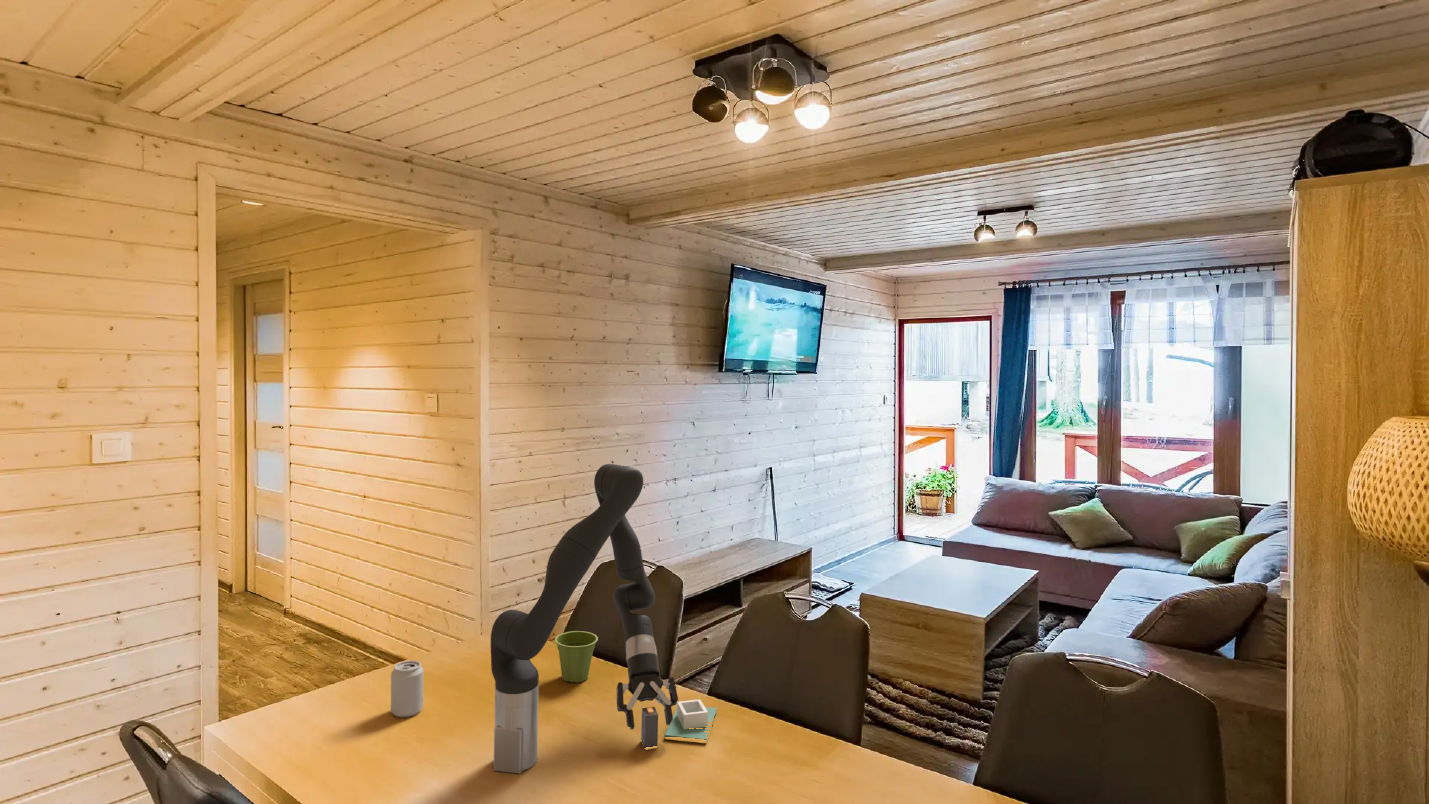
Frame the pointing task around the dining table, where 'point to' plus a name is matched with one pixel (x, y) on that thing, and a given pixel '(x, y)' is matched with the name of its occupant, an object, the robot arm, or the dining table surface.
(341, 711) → the dining table surface
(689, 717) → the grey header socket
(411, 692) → the can
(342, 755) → the dining table surface
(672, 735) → the green board
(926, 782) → the dining table surface
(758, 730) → the dining table surface
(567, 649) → the plant pot
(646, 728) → the dark grey rectangular block
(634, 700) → the robot arm
